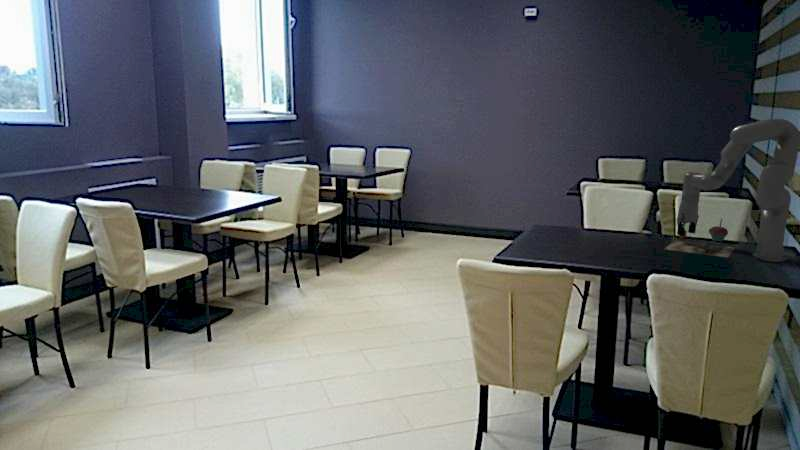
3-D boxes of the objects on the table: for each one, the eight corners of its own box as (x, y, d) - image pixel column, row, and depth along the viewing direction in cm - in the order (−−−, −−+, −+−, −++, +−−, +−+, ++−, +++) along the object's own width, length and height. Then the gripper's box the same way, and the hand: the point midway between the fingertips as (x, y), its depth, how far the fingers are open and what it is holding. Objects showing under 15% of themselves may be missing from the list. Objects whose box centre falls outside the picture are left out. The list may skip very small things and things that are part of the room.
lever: (724, 251, 270) (725, 238, 269) (716, 252, 268) (717, 239, 267) (683, 241, 290) (684, 229, 289) (676, 242, 288) (677, 230, 287)
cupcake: (730, 242, 295) (733, 218, 293) (712, 242, 295) (715, 218, 293) (721, 239, 304) (724, 215, 301) (704, 238, 304) (707, 215, 301)
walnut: (710, 251, 270) (711, 243, 269) (709, 253, 266) (710, 244, 266) (701, 250, 272) (702, 242, 271) (699, 252, 269) (700, 243, 268)
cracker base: (735, 250, 279) (736, 242, 279) (727, 260, 260) (728, 252, 259) (674, 242, 294) (675, 235, 293) (663, 251, 275) (664, 244, 274)
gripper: (692, 196, 293) (688, 230, 297) (672, 198, 283) (668, 234, 287) (707, 198, 287) (703, 233, 291) (687, 201, 277) (683, 237, 281)
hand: (686, 234), depth 289 cm, fingers open, 9 cm apart
